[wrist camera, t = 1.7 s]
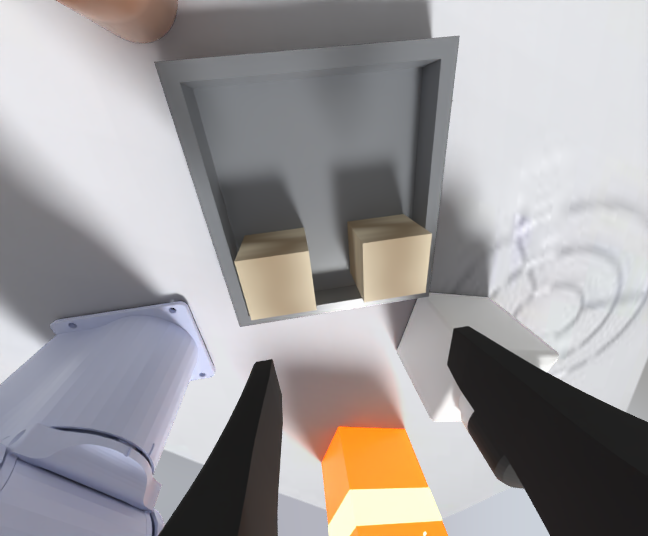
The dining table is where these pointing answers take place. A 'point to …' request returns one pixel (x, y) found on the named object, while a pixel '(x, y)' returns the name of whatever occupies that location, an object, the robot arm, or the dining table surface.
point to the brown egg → (129, 16)
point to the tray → (314, 149)
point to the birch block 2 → (388, 256)
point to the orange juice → (377, 486)
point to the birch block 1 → (276, 273)
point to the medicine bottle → (432, 355)
